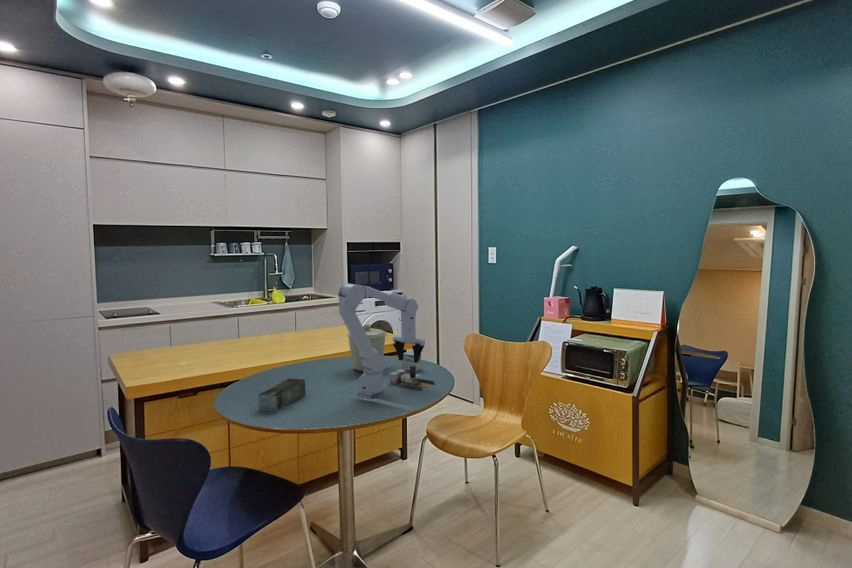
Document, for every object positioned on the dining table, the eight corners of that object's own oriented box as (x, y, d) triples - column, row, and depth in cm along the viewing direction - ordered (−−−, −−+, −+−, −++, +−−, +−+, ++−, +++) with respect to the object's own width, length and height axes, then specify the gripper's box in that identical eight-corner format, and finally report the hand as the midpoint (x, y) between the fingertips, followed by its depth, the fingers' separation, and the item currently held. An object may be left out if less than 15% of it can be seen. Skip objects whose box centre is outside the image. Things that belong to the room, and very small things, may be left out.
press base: (422, 394, 173) (422, 380, 172) (385, 387, 182) (385, 374, 181) (435, 387, 181) (435, 374, 181) (400, 381, 190) (399, 368, 190)
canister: (353, 363, 220) (352, 320, 218) (390, 363, 218) (389, 320, 216) (343, 374, 202) (342, 327, 200) (383, 374, 200) (382, 327, 198)
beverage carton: (257, 410, 158) (257, 392, 158) (288, 393, 177) (288, 376, 176) (277, 412, 156) (276, 393, 155) (306, 394, 174) (306, 378, 174)
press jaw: (411, 386, 177) (410, 368, 176) (404, 385, 178) (404, 367, 178) (420, 381, 183) (420, 364, 182) (414, 380, 184) (414, 363, 184)
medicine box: (401, 372, 203) (401, 353, 202) (406, 370, 207) (406, 351, 206) (416, 375, 199) (416, 355, 198) (421, 372, 203) (421, 353, 202)
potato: (407, 385, 180) (406, 377, 180) (398, 383, 182) (398, 376, 182) (412, 382, 183) (412, 375, 183) (404, 380, 185) (404, 373, 185)
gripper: (429, 327, 180) (429, 361, 181) (399, 324, 188) (400, 356, 189) (419, 330, 174) (419, 365, 176) (389, 327, 182) (389, 360, 183)
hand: (408, 361), depth 182 cm, fingers open, 7 cm apart
